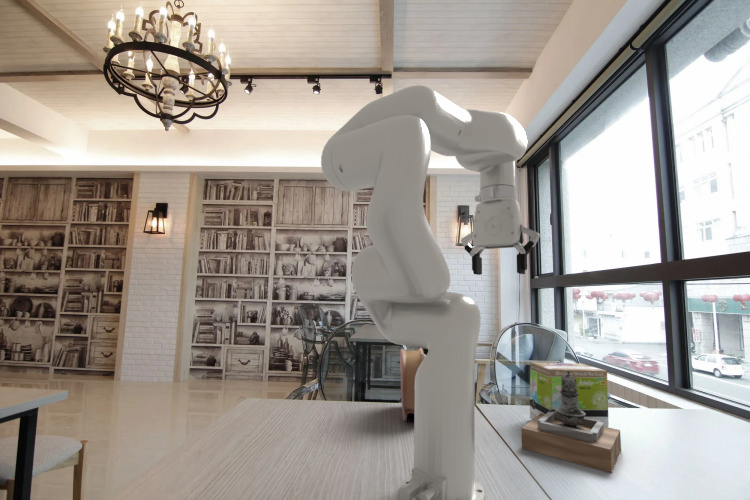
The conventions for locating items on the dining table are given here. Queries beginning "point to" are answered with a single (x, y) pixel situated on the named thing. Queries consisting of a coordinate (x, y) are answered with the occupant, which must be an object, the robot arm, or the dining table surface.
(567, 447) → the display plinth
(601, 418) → the tea box
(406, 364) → the face sculpture
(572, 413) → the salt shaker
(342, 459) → the dining table surface
